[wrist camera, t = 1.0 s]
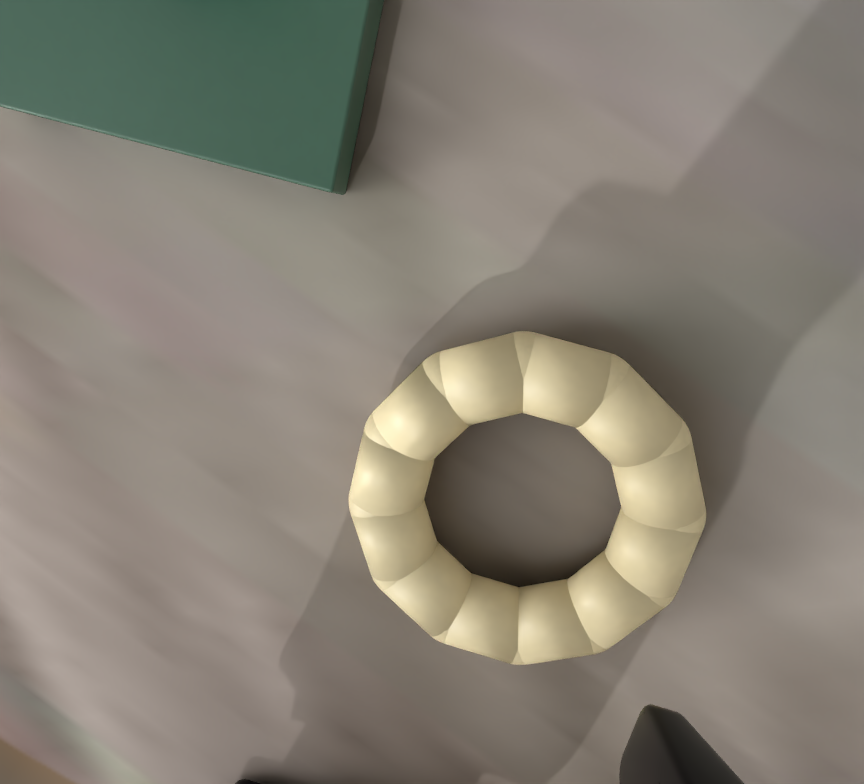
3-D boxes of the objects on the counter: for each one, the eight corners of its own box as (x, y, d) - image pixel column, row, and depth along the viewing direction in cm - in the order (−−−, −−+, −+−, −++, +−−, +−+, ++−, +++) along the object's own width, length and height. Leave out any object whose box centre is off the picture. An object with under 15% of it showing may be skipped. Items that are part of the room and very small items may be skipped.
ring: (626, 669, 18) (638, 719, 17) (335, 580, 19) (314, 620, 17) (741, 382, 16) (772, 403, 14) (402, 291, 17) (387, 299, 15)
